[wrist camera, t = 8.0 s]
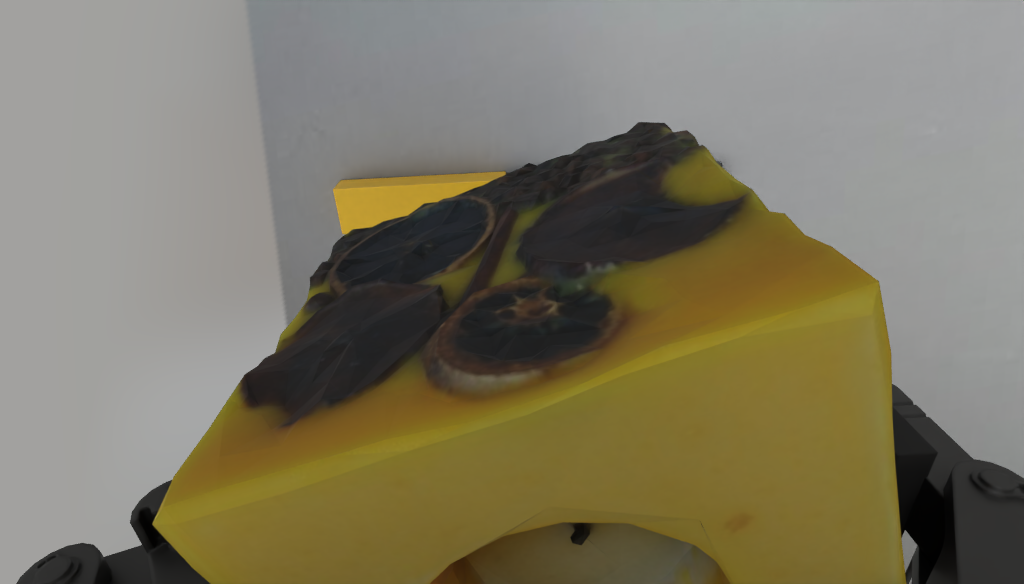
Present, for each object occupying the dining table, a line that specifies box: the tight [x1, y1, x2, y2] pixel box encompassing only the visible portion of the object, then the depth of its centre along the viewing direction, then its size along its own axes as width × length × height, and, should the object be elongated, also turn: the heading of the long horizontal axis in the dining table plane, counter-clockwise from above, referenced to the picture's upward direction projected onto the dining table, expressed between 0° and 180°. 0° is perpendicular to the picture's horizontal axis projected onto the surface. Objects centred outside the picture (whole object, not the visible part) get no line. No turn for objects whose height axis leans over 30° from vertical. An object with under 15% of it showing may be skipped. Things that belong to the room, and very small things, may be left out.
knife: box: [333, 162, 722, 234], centre depth 33 cm, size 23×3×2 cm, turn 93°
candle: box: [152, 122, 906, 584], centre depth 13 cm, size 10×10×10 cm
